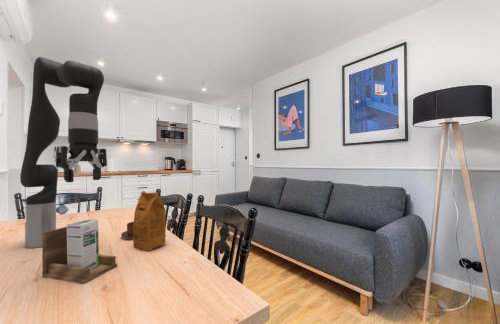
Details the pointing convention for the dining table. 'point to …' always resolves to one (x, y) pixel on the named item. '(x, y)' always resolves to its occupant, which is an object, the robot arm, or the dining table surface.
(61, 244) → the small wooden shelf
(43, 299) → the dining table surface
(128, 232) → the cup and saucer
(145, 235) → the coffee package
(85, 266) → the syrup box
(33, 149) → the robot arm
